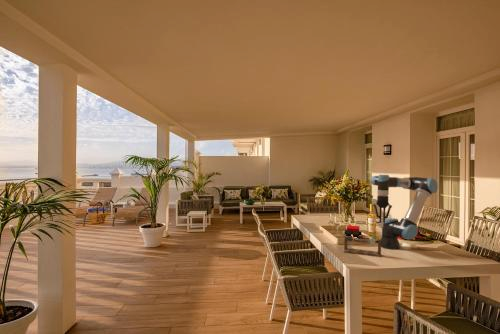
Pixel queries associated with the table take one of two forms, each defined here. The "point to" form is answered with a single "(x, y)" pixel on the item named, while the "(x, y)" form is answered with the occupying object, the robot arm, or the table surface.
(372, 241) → the cream t-shaped block
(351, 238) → the rod
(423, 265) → the table surface
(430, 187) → the robot arm
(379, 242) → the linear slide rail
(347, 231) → the red-and-black block model
